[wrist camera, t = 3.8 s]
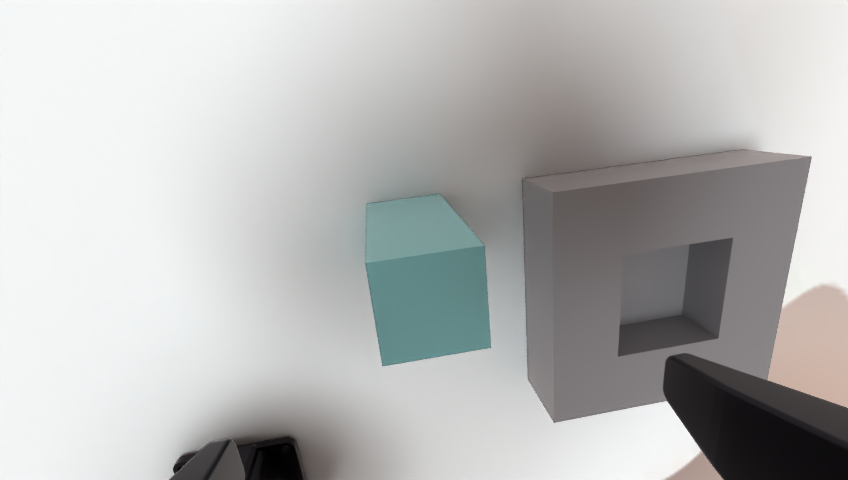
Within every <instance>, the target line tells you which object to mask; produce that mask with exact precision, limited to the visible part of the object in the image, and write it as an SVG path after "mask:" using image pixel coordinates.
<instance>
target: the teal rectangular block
mask: <svg viewBox="0 0 848 480" xmlns="http://www.w3.org/2000/svg"><path fill="white" fill-rule="evenodd" d="M365 264H366V270H367V276H368V282H369V288H370V294H371V300H372V306H373V312H374V318H375V324H376V330H377V336H378V342H379V348H380V354H381V360H382V366H388V365H393V364H399V363H405V362H411V361H417V360H422V359H428V358H434V357H440V356H445V355H451V354H457V353H463V352H469V351H474V350H480V349H486V348H491V340H490V324H489V308H488V292H487V276H486V260H485V245H484V244H483V243H482V242H481V241H480V240H479V238H478V237H477V236H476V235H475V234H474V233H473V232H472V230H471V229H470V228H469V227H468V226H467V225H466V224H465V222H464V221H463V220H462V219H461V218H460V217H459V215H458V214H457V213H456V212H455V211H454V210H453V209H452V207H451V206H450V205H449V204H448V203H447V202H446V201H445V199H444V198H443V197H442V196H441V195H440V194H435V195H427V196H420V197H413V198H405V199H398V200H390V201H383V202H375V203H368V204H366V254H365Z"/></svg>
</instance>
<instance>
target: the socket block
mask: <svg viewBox="0 0 848 480" xmlns="http://www.w3.org/2000/svg"><path fill="white" fill-rule="evenodd" d="M811 158H812V157H811V156H801V155H791V154H781V153H772V152H762V151H752V150H734V151H727V152H719V153H712V154H705V155H697V156H690V157H682V158H675V159H667V160H660V161H652V162H645V163H637V164H630V165H622V166H615V167H607V168H600V169H592V170H585V171H578V172H570V173H563V174H555V175H548V176H540V177H533V178H525V179H522V187H523V222H524V257H525V291H526V326H527V361H528V380H529V382H530V383H531V385H532V387H533V388H534V390H535V392H536V393H537V395H538V397H539V398H540V400H541V402H542V403H543V405H544V407H545V408H546V410H547V412H548V413H549V415H550V417H551V418H552V420H553V422H554V423H555V422H560V421H565V420H570V419H575V418H581V417H586V416H591V415H596V414H601V413H606V412H611V411H617V410H622V409H627V408H632V407H637V406H642V405H647V404H653V403H658V402H663V401H667V400H666V398H665V396H664V393H663V377H664V367H665V360H666V359H667V357H669V356H671V355H677V354H682V353H688V354H692V355H695V356H698V357H701V358H703V359H706V360H709V361H712V362H715V363H718V364H721V365H724V366H727V367H730V368H733V369H736V370H738V371H741V372H744V373H747V374H750V375H753V376H756V377H759V378H762V379H765V380H767V378H768V373H769V368H770V363H771V358H772V353H773V348H774V342H775V337H776V333H777V328H778V323H779V318H780V313H781V308H782V303H783V298H784V293H785V288H786V283H787V278H788V273H789V268H790V263H791V258H792V253H793V248H794V243H795V238H796V233H797V228H798V223H799V218H800V213H801V208H802V203H803V198H804V193H805V188H806V183H807V178H808V173H809V168H810V163H811Z"/></svg>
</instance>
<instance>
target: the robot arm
mask: <svg viewBox="0 0 848 480" xmlns="http://www.w3.org/2000/svg"><path fill="white" fill-rule="evenodd" d="M663 393H664V396H665V398H666V400H667V401H668V403H669V404H670V406H671V407H672V409H673V410H674V411H675V413H676V414H677V416H678V417H679V419H680V420H681V422H682V423H683V424H684V426H685V427H686V429H687V430H688V432H689V433H690V435H691V436H692V437H693V439H694V440H695V442H696V443H697V445H698V446H699V447H700V449H701V450H702V452H703V453H704V455H705V456H706V457H707V459H708V460H709V462H710V463H711V464H712V466H713V467H714V468H715V469H716V471H717V472H718V473H719V475H721V477H722V478H723V479H724V480H848V408H846V407H843V406H840V405H837V404H835V403H832V402H829V401H826V400H823V399H820V398H817V397H814V396H811V395H809V394H806V393H803V392H800V391H797V390H794V389H791V388H788V387H785V386H782V385H779V384H776V383H773V382H771V381H768V380H765V379H762V378H759V377H756V376H753V375H750V374H747V373H744V372H741V371H738V370H736V369H733V368H730V367H727V366H724V365H721V364H718V363H715V362H712V361H709V360H706V359H703V358H701V357H698V356H695V355H692V354H688V353H682V354H677V355H671V356H669V357H667V359H666V360H665V367H664V377H663ZM285 446H288V447H289V448H285ZM173 471H174V474H175V475H174V476H173V477H171V478H170V479H169V480H306V476H305V472H304V469H303V465H302V461H301V457H300V454H299V450H298V446H297V443H296V441H295V440H294V439H293V438H290V437H285V438H279V439H274V440H268V441H263V442H258V443H252V444H247V445H242V446H236V444H235V442H234V440H233V439H230V438H227V439H221V440H216V441H212V442H209V443H208V444H207V445H205V446H204V447H203V448H202V449H201V450H200V451H199V452H198V453H197V454H193V455H188V456H183V457H180V458H179V459H178V460H177V462H176V464H175V465H174V468H173Z"/></svg>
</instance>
